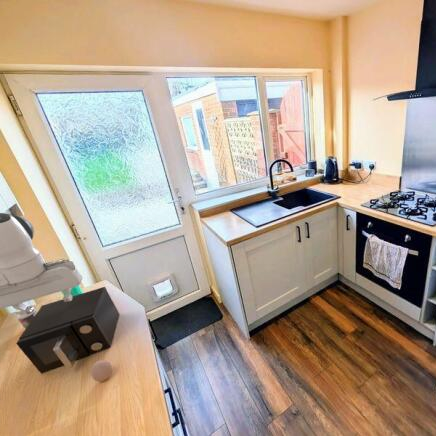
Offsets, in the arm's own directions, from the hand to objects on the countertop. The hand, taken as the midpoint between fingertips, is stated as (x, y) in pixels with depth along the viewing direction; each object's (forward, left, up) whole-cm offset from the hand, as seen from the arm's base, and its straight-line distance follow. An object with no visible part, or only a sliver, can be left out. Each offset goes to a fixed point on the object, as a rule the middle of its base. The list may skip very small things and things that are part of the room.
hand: (50, 306), depth 74 cm
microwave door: (-7, 0, -25) cm, 26 cm away
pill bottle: (-26, +32, -25) cm, 48 cm away
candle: (-12, +38, -25) cm, 47 cm away
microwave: (-3, +11, -25) cm, 27 cm away
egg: (+8, -10, -25) cm, 28 cm away
